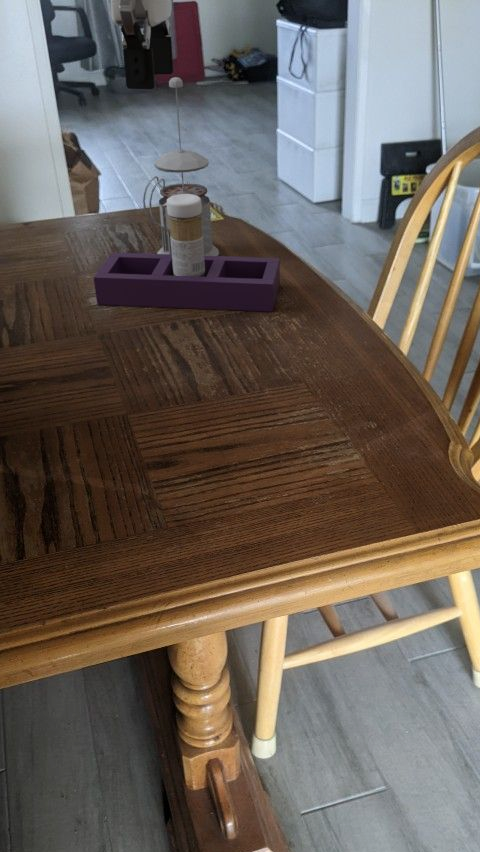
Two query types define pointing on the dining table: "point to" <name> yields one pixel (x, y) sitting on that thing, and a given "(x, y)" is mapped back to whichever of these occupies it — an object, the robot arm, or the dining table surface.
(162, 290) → the compartment tray
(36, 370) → the dining table surface
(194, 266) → the sprinkles bottle
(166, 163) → the french press
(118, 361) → the dining table surface
